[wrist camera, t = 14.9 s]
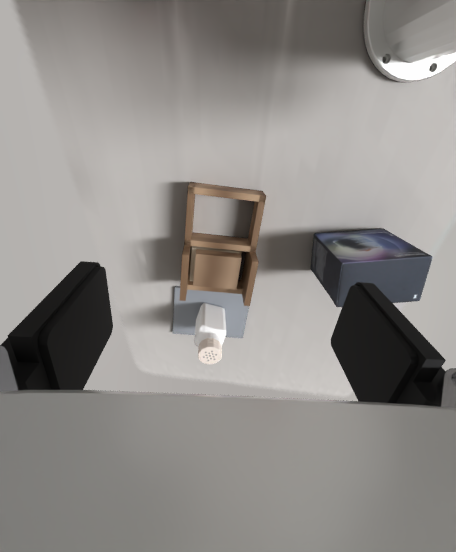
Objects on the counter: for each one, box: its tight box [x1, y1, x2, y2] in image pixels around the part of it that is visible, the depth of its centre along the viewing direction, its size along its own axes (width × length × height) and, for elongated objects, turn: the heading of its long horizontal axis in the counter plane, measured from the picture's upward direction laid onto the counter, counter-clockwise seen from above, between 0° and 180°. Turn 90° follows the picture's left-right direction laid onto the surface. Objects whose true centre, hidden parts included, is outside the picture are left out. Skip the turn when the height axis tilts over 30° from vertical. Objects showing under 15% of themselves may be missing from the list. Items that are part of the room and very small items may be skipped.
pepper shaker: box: [194, 303, 226, 364], centre depth 41 cm, size 4×4×10 cm
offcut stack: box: [189, 246, 242, 290], centre depth 39 cm, size 7×5×5 cm
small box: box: [311, 229, 433, 307], centre depth 37 cm, size 11×6×10 cm, turn 94°
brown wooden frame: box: [179, 182, 266, 306], centre depth 37 cm, size 10×14×6 cm, turn 172°
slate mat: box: [173, 286, 249, 338], centre depth 46 cm, size 12×9×1 cm
